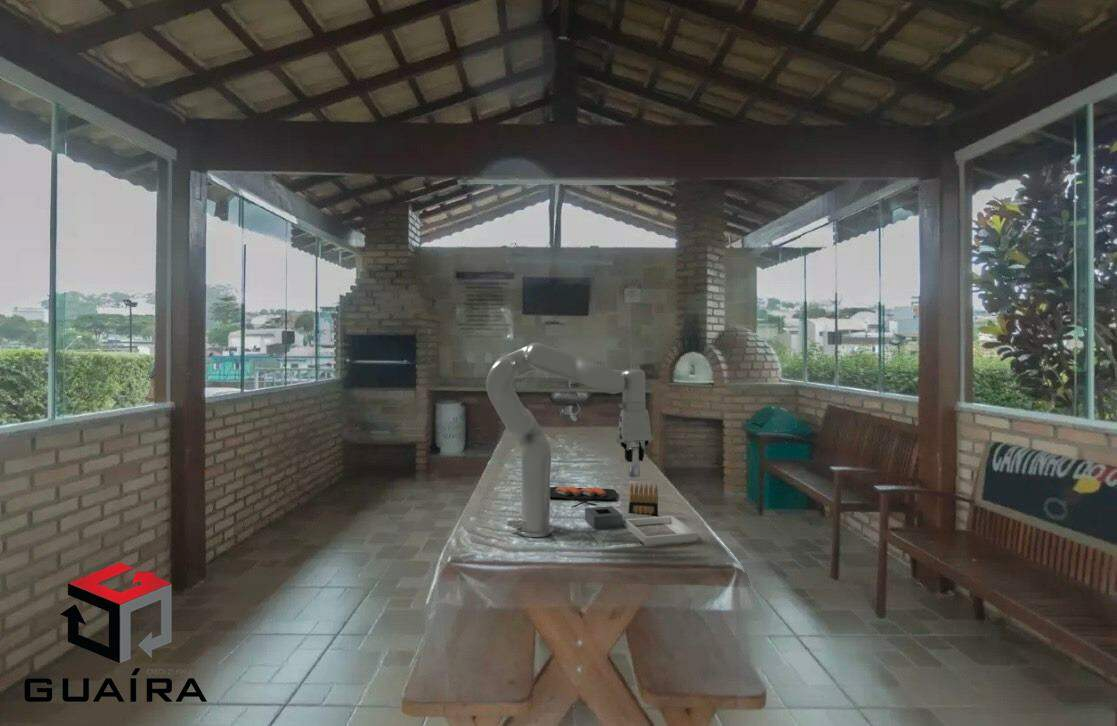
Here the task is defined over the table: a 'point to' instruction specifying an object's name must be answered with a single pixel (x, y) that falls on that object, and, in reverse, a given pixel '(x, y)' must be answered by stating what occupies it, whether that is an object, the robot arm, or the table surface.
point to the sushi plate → (582, 494)
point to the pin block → (603, 517)
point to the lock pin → (634, 462)
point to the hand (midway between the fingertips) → (634, 460)
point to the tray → (671, 522)
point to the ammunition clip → (643, 500)
